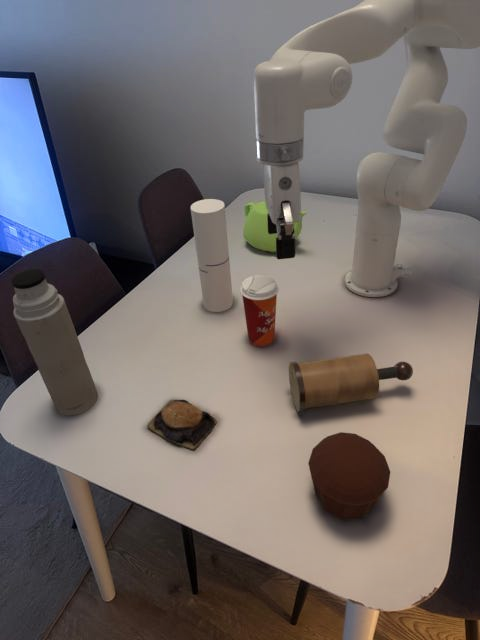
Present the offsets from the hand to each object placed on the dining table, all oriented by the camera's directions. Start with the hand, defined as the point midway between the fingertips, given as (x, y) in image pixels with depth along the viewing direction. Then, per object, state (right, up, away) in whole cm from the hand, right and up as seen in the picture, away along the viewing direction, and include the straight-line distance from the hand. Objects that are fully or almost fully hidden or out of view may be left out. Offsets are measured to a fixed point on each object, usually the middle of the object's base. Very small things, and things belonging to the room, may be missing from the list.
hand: (280, 244), depth 84 cm
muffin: (+8, -40, -14) cm, 43 cm away
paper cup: (-3, -18, +16) cm, 24 cm away
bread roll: (-18, -33, -2) cm, 37 cm away
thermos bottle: (-39, -29, +5) cm, 49 cm away
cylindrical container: (-13, -10, +28) cm, 32 cm away
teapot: (+3, +8, +50) cm, 50 cm away
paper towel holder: (+2, -26, -2) cm, 26 cm away
